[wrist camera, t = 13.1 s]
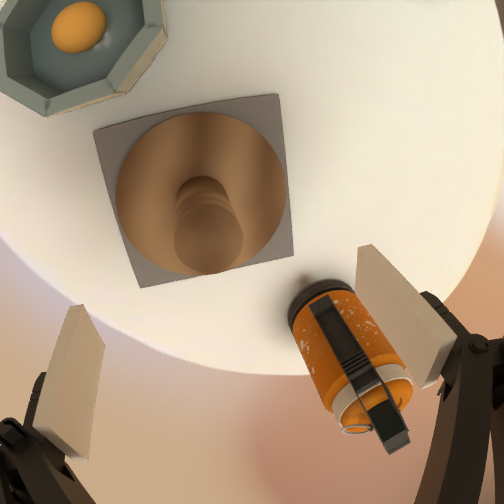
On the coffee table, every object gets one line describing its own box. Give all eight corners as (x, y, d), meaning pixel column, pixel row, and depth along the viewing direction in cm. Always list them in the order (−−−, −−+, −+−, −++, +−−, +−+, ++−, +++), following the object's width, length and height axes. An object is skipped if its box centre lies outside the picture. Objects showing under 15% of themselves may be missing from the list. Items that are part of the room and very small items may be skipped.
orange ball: (109, 2, 17) (96, -13, 13) (114, 46, 19) (101, 38, 16) (61, 19, 17) (40, 9, 13) (65, 63, 19) (45, 59, 15)
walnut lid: (274, 100, 25) (314, 105, 17) (289, 252, 32) (322, 306, 24) (99, 135, 23) (62, 157, 15) (143, 283, 30) (135, 347, 23)
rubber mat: (276, 94, 25) (278, 94, 24) (291, 252, 33) (293, 255, 32) (95, 130, 23) (92, 131, 23) (141, 284, 31) (140, 288, 31)
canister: (303, 346, 41) (362, 477, 23) (266, 292, 35) (332, 455, 18) (361, 312, 40) (441, 430, 23) (336, 251, 34) (444, 389, 17)
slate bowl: (157, -46, 16) (152, -75, 11) (175, 82, 23) (172, 79, 18) (21, 2, 15) (-9, -11, 10) (36, 125, 22) (4, 135, 16)
